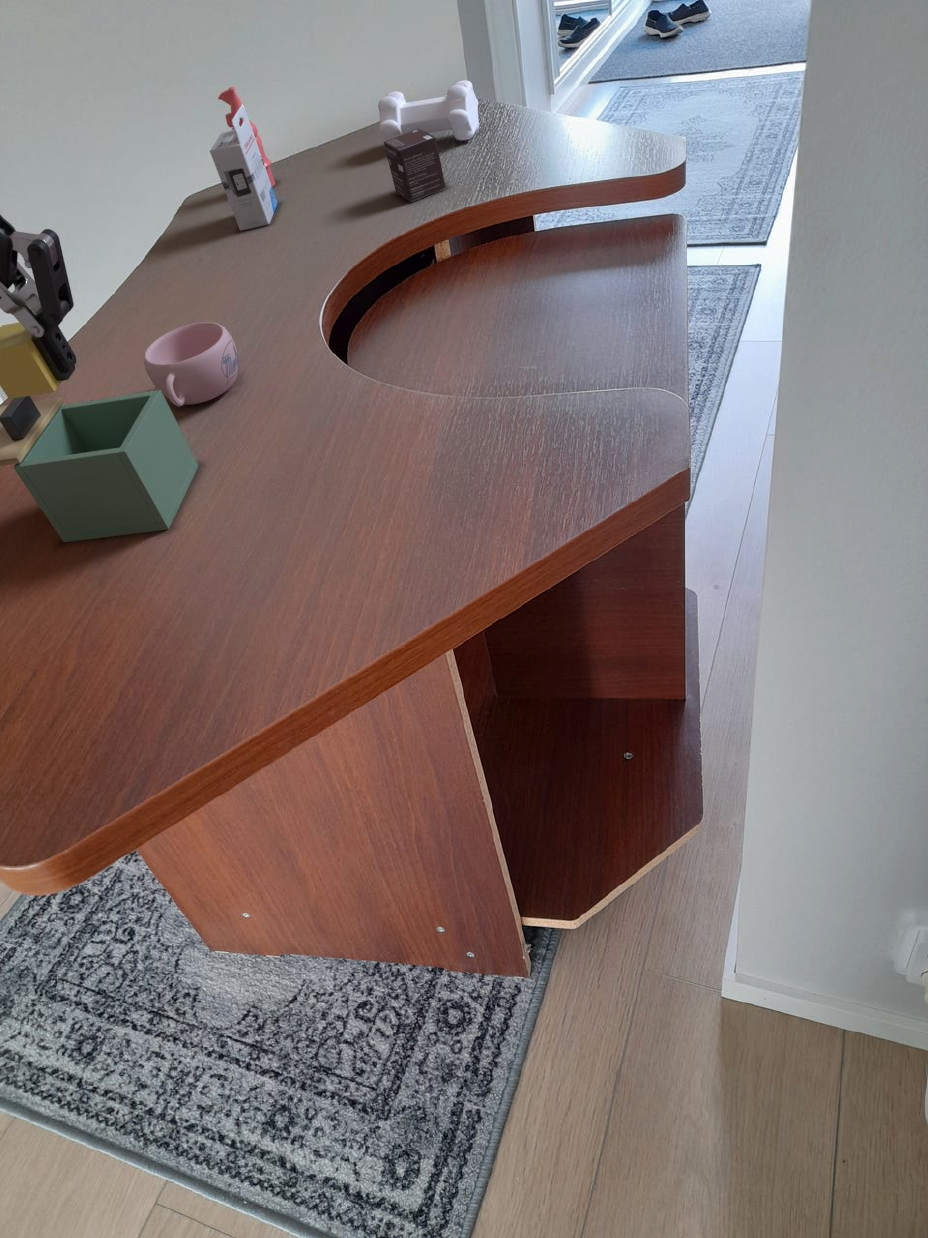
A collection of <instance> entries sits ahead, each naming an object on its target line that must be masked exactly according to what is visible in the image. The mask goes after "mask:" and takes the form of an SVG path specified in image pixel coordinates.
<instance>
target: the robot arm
mask: <svg viewBox="0 0 928 1238" xmlns="http://www.w3.org/2000/svg"><path fill="white" fill-rule="evenodd" d="M19 255H21V257H22V258H23V261H24V262H23V263H24V264H23V265H24V267H26V269H31V272H32V276H33V278H32V276H31V275H30V274H29V273H28V272H27V271H26V270H25V268H24V267H23V266H22V265H21V264H20V263H19V261H18V260H19V259H18V257H19ZM67 272H68V271H67V267H66V263H65V258H64V255H63V249H62V245H61V241H60V237H59V235H58V234H57V233H56V231H54V230H53V229H51V228H45V229H43V230H42V231H41V232H40V233H39V234H38V233H31V232H30V233H29V232H24V231H17V230H16V228H15V227H14V226H13V224H11V223H10V222H9V221H8V220H7V219H6V218H4V217H3V215H2V214H0V310H2V312H4V313H5V314H6V315H7V314H8V315H9V314H10V315H12V316H13V317H14V318H15V319H16V320H17V321H18V323H19V322H20V323H21V324H22V325H23V327H24V328H25V329H26V330H27V331H28V332H29V333H30V334H31V335H32V336H34V338H33V339H32V341H33V343H34V344H35V346H36V348H37V349H38V351H39V353H40V354H41V356H42V358H43V359H44V361H45V363H46V364H47V366H48V368H49V369H50V371H51V372H52V374H53V376H54V377H55V379H56V380H57V381H62V382H63V381H68V380H69V379H70V378H71V376H72V375H73V374H74V372H75V371H76V364H77V362H78V361H77V356H76V354H75V352H74V350H73V349H72V347H71V345H70V344H69V342H68V340H67V338H66V336H65V334H64V333H63V332H62V330H61V328H60V325H61V324H62V322H63V321H64V319H65V317H66V316H67V315H68V313H70V312H71V310H72V309H73V308H74V306H75V305H74V298H73V294H72V289H71V286H70V285H71V284H70V280H69V277H68V273H67ZM12 286H13V287H14V289H13V291H12V292H11V291H10V290H9V289H10V288H11V287H12Z"/></svg>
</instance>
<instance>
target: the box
mask: <svg viewBox="0 0 928 1238" xmlns="http://www.w3.org/2000/svg"><path fill="white" fill-rule="evenodd" d="M383 145H384V148H385V153H386V157H387V158H386V159H387V162H388V165H389V170H390V175H391V178H392V182H393V186H394V190H395V193H396V194H397V195H398V196H400V197H401V198H403V200H406V201H407V202H409V203H414V202H417V201H419V200H421V199H423V198H426V197H428V196H431V195H433V194H437V193H439V192H443V191H445V190H446V189H447V185H446V182H445V176H444V172H443V166H442V162H441V157H440V152H439V146H438V142H437V137H436V136H435V135H433V134H430V132H429V133H428V132H426V131H423V130H421V129H416V130H413V131H411V132H408V133H406V134H403V135H400V136H398V137H395V138H392V139H390V140H387V141H386V140H385V141H383Z"/></svg>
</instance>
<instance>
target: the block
mask: <svg viewBox="0 0 928 1238" xmlns="http://www.w3.org/2000/svg"><path fill="white" fill-rule="evenodd" d="M33 338H34V336H32V335H31V334H30V333H29V332H28V331H27V330H26V329H25V328H24V327H23V325H22V324H21V323H20V322H19V321H18V322H13V323H9V324H4V325H1V326H0V388H1V389H2V392H4V394H5V396H6V397H7V398H8V399H9V400H11V399H12V400H13V399H14V398H19V397H25V396H30V397H31V396H37V395H43V394H50V393H54V392H55V393H56V391H57V389H58V388H59V386H60V385H61V384H62V383H63V381H57V380H56V379H55V377H54V376H53V374H52V372H51V371H50V369H49V368H48V366H47V364H46V363H45V361H44V359H43V358H42V356H41V354H40V353H39V351H38V349H37V348H36V346H35V344H34V343H33V341H32V339H33Z"/></svg>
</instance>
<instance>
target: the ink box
mask: <svg viewBox="0 0 928 1238" xmlns="http://www.w3.org/2000/svg"><path fill="white" fill-rule="evenodd" d="M241 118H242V120H243V124H242V125H241V127H240V125H239V122H240V119H241ZM249 120H250V119H249V116H248V113H247V110H246V108H245V105H244V104H243V103H242V104H241V106H240V108H239V109H238V111H237V112H236V114H235V116H234V117H233V119H232V125H233V127H232V128H234V129H233V130H232V129H229V130H225V131H224V130H223V131H221V133H220V134H219V136H218V138H216V140H215V142H214V144H213V145H212V147H211V149H210V150H209V154H210V156H211V158H212V161H213V163H214V166H215V168H216V172H217V173H218V176H219V179H220V183H221V184H222V187H223V190H224V192H225V194H226V198H227V200H228V203H229V205H230V208H231V210H232V213H233V216H234V219H235V221H236V223H237V227H238V228H239V231H246V230H251V229H255V228H261V227H264V226H269V225H270V224H271V221H272V219H273V216H274V214H275V211H276V209H277V207H278V201H277V197H276V194H275V192H274V189H273V187H272V186H271V183H270V180H269V177H268V174H267V171H266V168H265V165H264V162H263V159H262V156H261V153H260V150H259V147H258V145H257V142H256V139H255V136H254V133H253V130H252V127H251V124H250V121H251V120H250V121H249Z"/></svg>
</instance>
